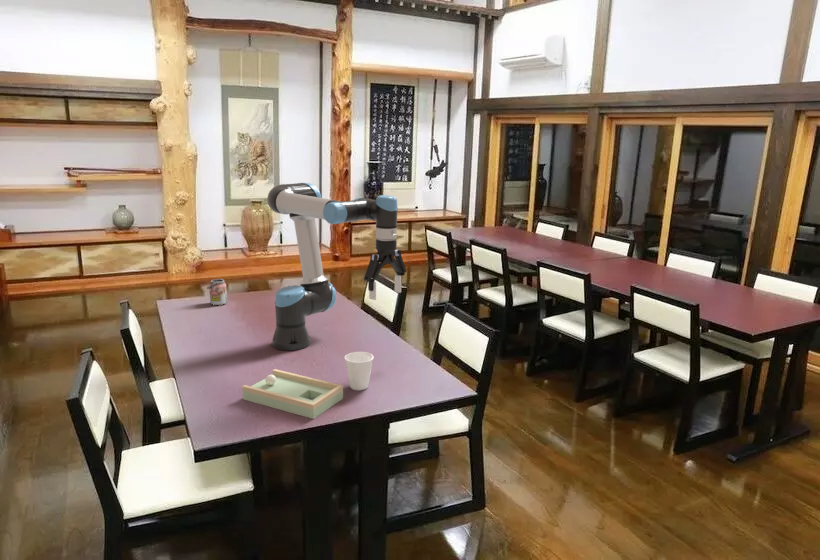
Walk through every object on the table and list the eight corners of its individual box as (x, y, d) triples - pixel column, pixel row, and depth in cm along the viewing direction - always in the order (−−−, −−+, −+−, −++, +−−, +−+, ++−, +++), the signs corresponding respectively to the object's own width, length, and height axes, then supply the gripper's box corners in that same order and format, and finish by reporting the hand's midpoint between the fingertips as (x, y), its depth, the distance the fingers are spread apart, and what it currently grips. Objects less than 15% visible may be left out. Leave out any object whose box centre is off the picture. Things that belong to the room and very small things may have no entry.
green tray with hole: (243, 399, 187) (242, 386, 186) (275, 381, 201) (274, 369, 200) (313, 418, 175) (313, 405, 174) (343, 398, 189) (342, 385, 188)
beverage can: (205, 305, 287) (203, 282, 284) (213, 300, 295) (211, 278, 293) (222, 306, 286) (221, 283, 283) (230, 301, 294) (229, 279, 291)
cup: (345, 381, 202) (344, 351, 199) (373, 380, 203) (373, 351, 200) (344, 393, 193) (343, 362, 190) (374, 393, 193) (374, 362, 191)
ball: (263, 385, 191) (262, 375, 190) (270, 381, 194) (269, 372, 193) (271, 387, 189) (271, 377, 188) (278, 383, 192) (278, 374, 191)
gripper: (369, 245, 198) (368, 304, 203) (416, 236, 216) (415, 291, 221) (354, 241, 202) (354, 300, 208) (401, 233, 221) (400, 287, 226)
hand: (385, 295), depth 215 cm, fingers open, 13 cm apart
